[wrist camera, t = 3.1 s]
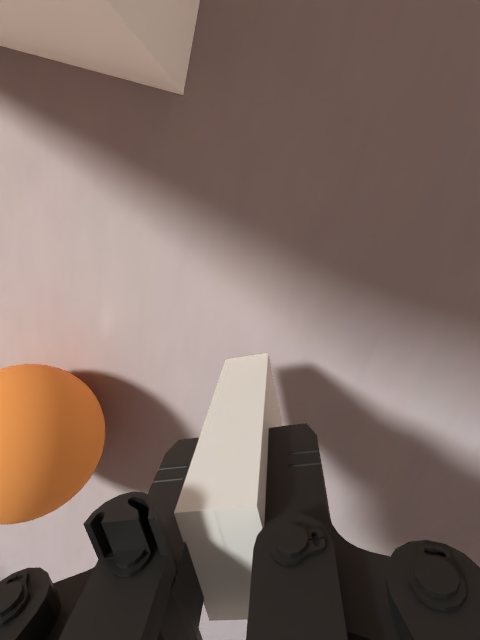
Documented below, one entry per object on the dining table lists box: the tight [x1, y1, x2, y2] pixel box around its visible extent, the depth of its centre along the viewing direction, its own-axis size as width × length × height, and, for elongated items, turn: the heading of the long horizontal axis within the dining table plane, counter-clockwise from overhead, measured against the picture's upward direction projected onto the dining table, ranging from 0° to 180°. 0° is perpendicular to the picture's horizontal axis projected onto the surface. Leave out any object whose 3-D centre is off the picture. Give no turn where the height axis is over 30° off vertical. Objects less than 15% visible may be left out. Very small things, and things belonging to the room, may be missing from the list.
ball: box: [0, 364, 105, 524], centre depth 13 cm, size 6×6×6 cm
